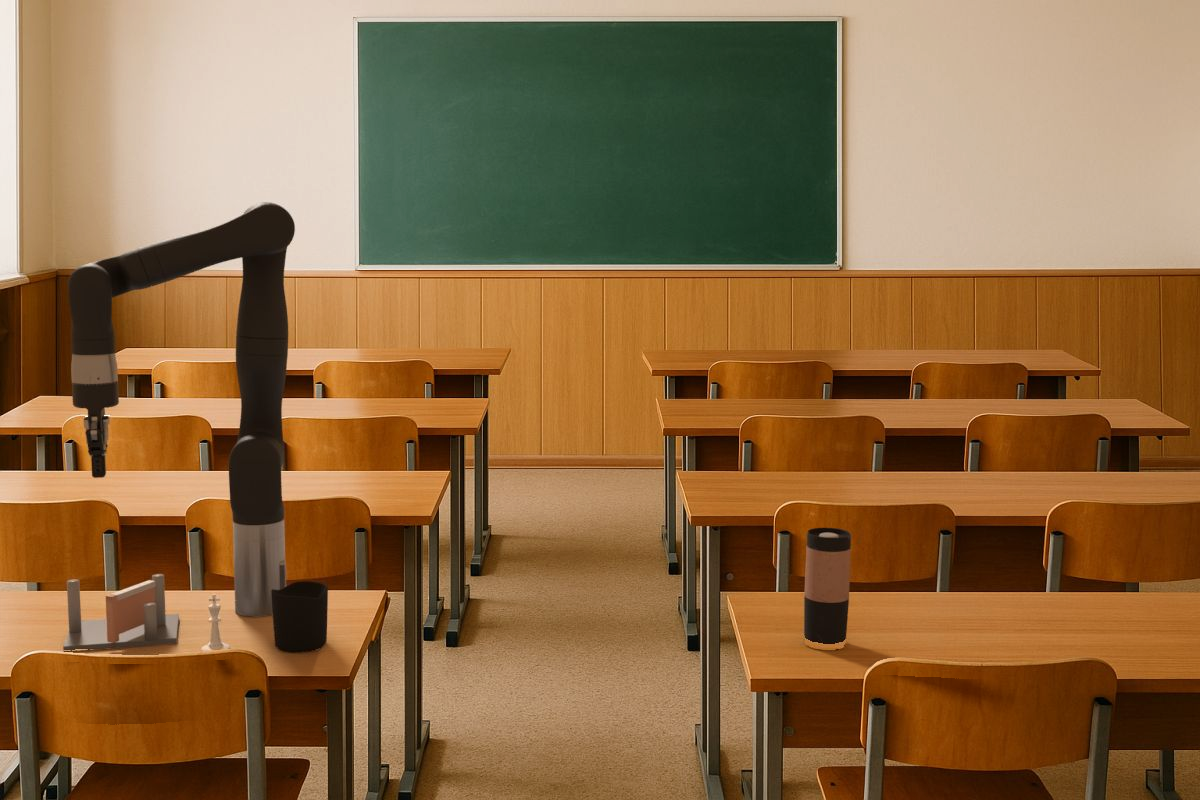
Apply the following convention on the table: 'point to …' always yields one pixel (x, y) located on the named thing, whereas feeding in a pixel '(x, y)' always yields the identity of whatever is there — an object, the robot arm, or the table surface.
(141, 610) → the gate
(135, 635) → the gate frame
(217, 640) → the chess piece
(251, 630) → the table surface
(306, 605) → the pen holder
